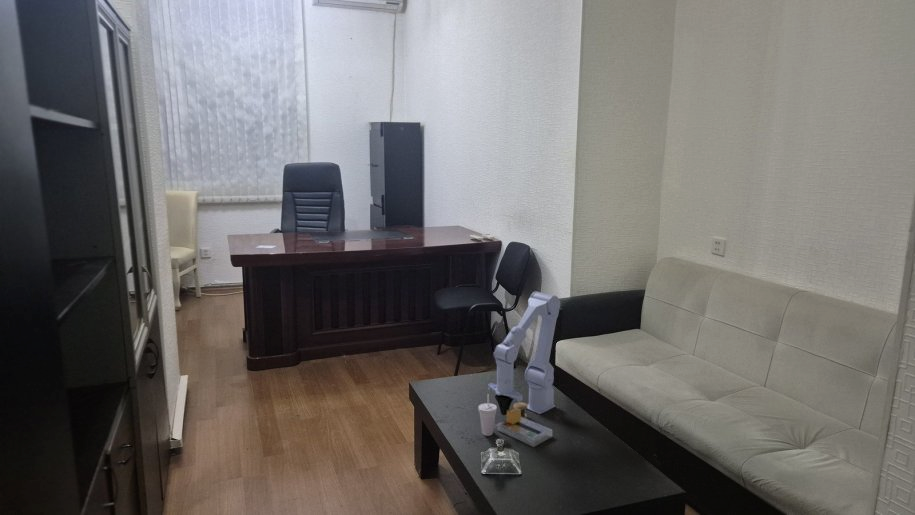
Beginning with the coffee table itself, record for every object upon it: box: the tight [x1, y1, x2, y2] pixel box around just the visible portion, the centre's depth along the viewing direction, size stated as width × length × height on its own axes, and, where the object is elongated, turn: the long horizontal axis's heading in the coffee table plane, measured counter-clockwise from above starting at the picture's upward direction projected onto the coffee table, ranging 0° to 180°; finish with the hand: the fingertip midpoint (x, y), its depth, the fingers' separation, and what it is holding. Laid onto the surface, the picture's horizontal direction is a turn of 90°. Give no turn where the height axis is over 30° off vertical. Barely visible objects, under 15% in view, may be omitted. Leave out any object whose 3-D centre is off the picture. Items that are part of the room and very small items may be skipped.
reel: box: [513, 401, 528, 419], centre depth 216 cm, size 5×5×5 cm
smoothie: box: [477, 393, 498, 437], centre depth 203 cm, size 6×6×14 cm
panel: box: [497, 417, 553, 448], centre depth 204 cm, size 10×16×3 cm, turn 44°
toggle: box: [506, 406, 521, 424], centre depth 207 cm, size 4×3×4 cm
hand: (504, 414), depth 210 cm, fingers closed
